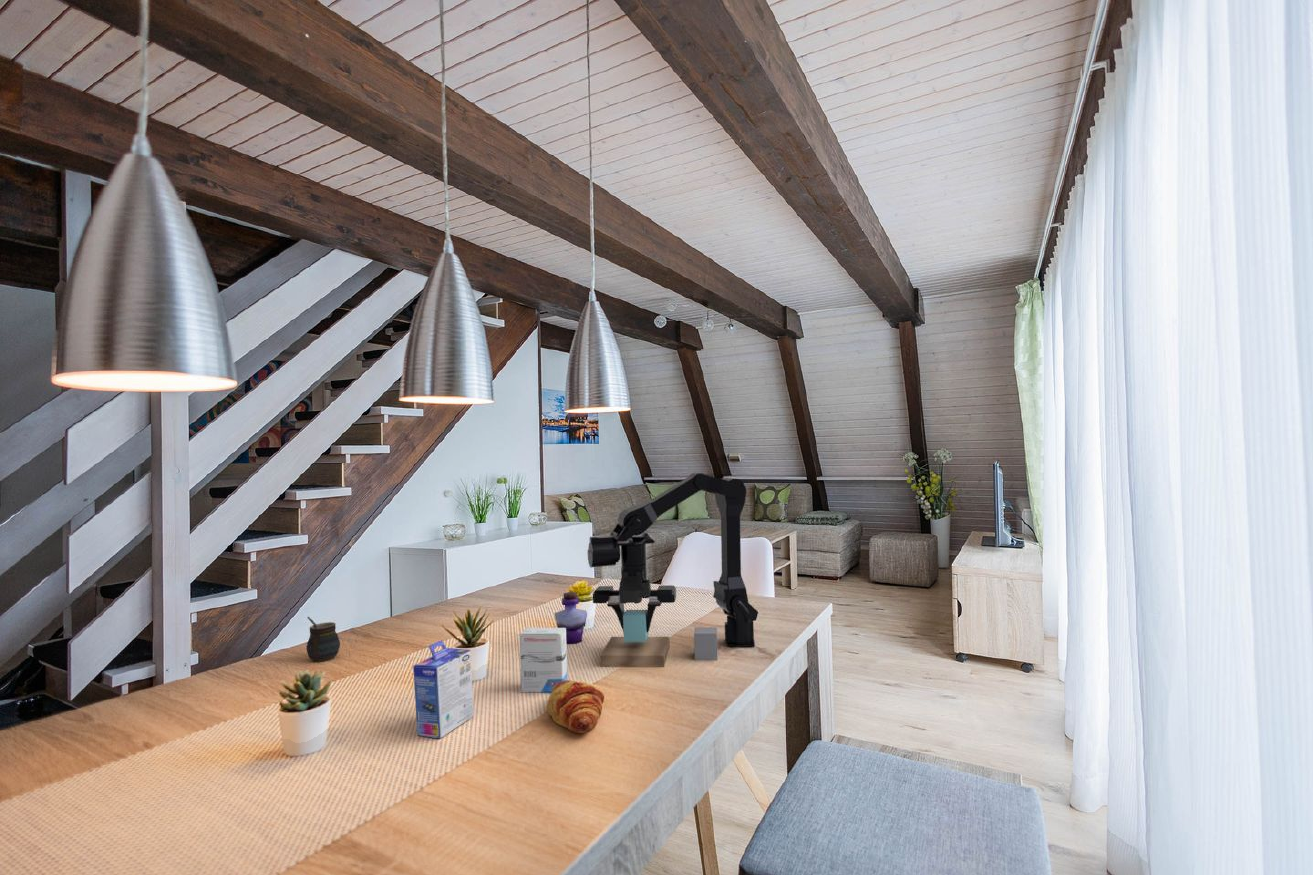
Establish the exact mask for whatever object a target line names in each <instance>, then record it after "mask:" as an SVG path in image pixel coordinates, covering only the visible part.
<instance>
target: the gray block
mask: <svg viewBox="0 0 1313 875" xmlns="http://www.w3.org/2000/svg"><path fill="white" fill-rule="evenodd" d="M693 634H694V636H693V637H694V638H693V639H694V661H718V651H719V650H718V627H713V626H712V627H705V626H704V627H699V626H698V627H694V633H693Z"/></svg>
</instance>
